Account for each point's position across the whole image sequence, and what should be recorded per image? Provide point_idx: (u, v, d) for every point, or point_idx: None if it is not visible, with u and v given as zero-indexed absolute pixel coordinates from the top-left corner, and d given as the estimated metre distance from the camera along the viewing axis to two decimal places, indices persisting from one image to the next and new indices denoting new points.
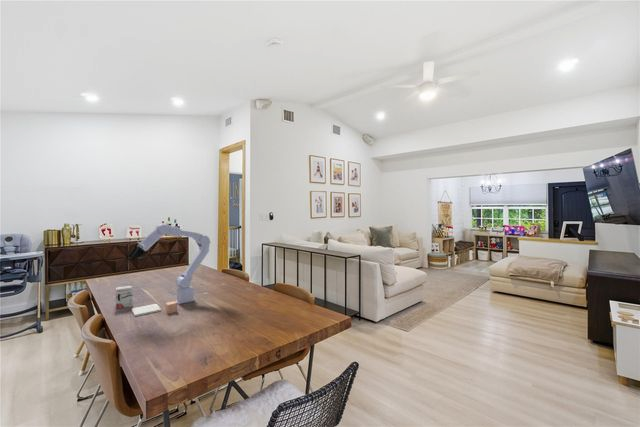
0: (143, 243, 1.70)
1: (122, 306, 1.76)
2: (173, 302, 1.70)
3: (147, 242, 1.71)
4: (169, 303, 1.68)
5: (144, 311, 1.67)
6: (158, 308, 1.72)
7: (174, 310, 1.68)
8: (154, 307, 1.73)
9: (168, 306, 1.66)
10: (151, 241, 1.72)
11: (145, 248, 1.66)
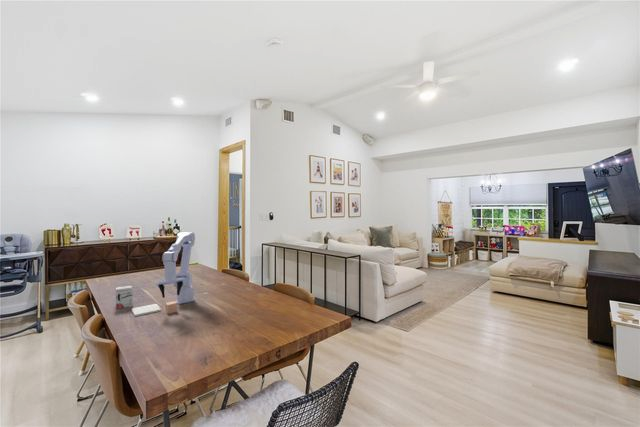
0: (175, 278, 1.69)
1: (122, 306, 1.76)
2: (173, 302, 1.70)
3: (175, 275, 1.70)
4: (169, 303, 1.68)
5: (144, 311, 1.67)
6: (158, 308, 1.72)
7: (174, 310, 1.68)
8: (154, 307, 1.73)
9: (168, 306, 1.66)
10: None
11: None
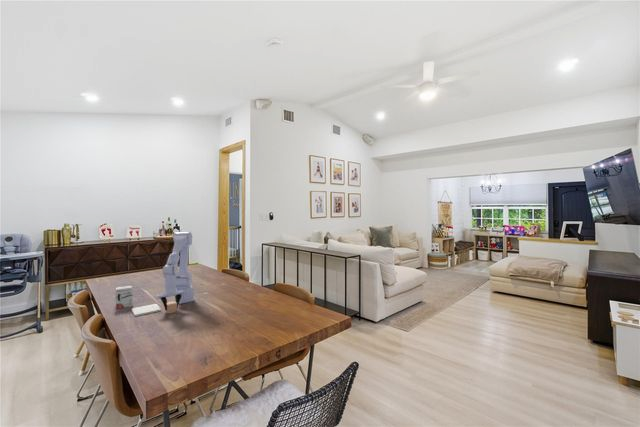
0: (175, 291, 1.69)
1: (122, 306, 1.76)
2: (173, 302, 1.70)
3: (176, 288, 1.70)
4: (169, 303, 1.68)
5: (144, 311, 1.67)
6: (158, 308, 1.72)
7: (174, 310, 1.68)
8: (154, 307, 1.73)
9: (168, 306, 1.66)
10: None
11: None
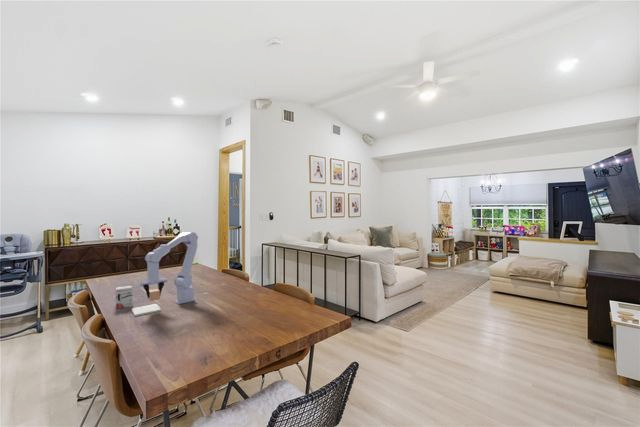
0: (158, 279, 1.70)
1: (122, 306, 1.76)
2: (156, 290, 1.71)
3: (158, 275, 1.71)
4: (152, 291, 1.69)
5: (144, 311, 1.67)
6: (158, 308, 1.72)
7: (157, 297, 1.69)
8: (154, 307, 1.73)
9: (151, 293, 1.67)
10: None
11: None
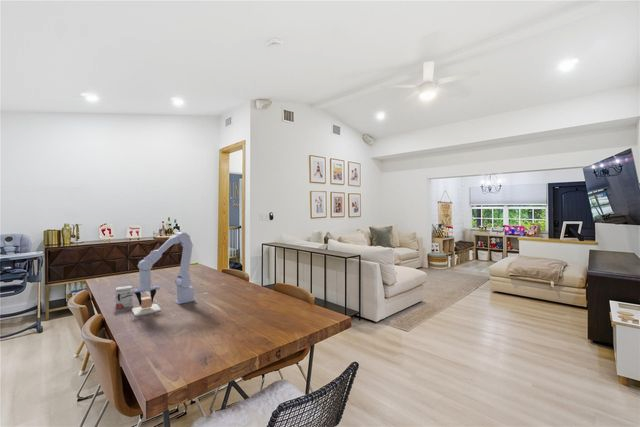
0: (150, 286, 1.71)
1: (122, 306, 1.76)
2: (148, 297, 1.72)
3: None
4: (144, 298, 1.70)
5: (144, 311, 1.67)
6: (158, 308, 1.72)
7: (149, 305, 1.70)
8: (154, 307, 1.73)
9: (142, 301, 1.68)
10: None
11: (159, 287, 1.75)
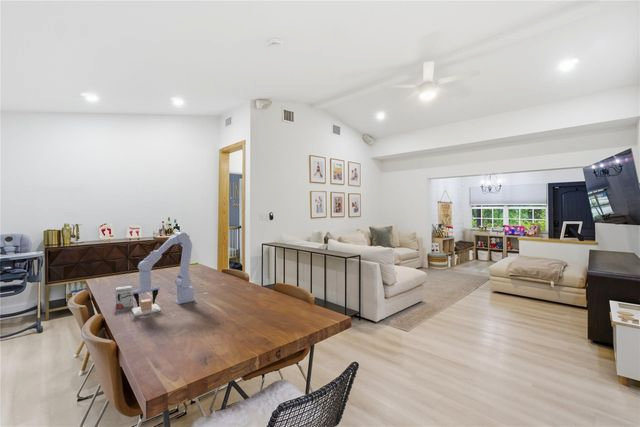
0: (150, 287, 1.71)
1: (122, 306, 1.76)
2: (148, 300, 1.72)
3: None
4: (144, 300, 1.70)
5: (144, 311, 1.67)
6: (158, 308, 1.72)
7: (148, 307, 1.70)
8: (154, 307, 1.73)
9: (142, 303, 1.68)
10: None
11: (159, 288, 1.75)
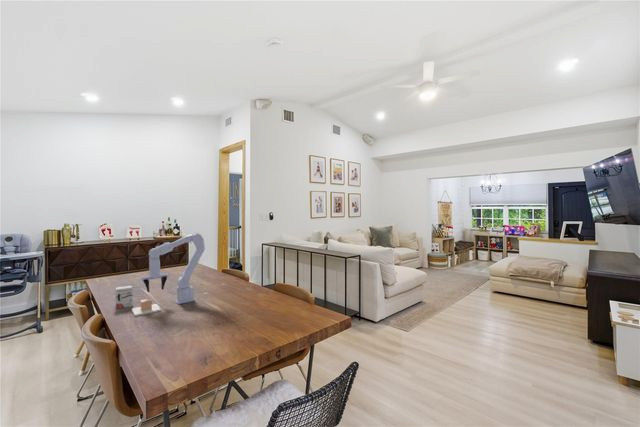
0: (159, 274, 1.79)
1: (122, 306, 1.76)
2: (148, 300, 1.72)
3: None
4: (144, 300, 1.70)
5: (144, 311, 1.67)
6: (158, 308, 1.72)
7: (148, 307, 1.70)
8: (154, 307, 1.73)
9: (142, 303, 1.68)
10: None
11: None
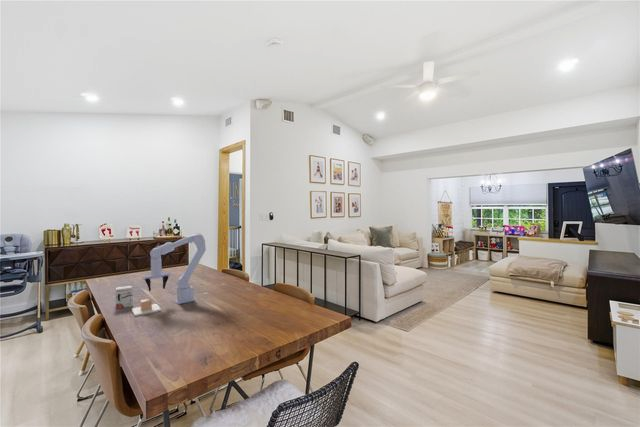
0: (161, 273, 1.80)
1: (122, 306, 1.76)
2: (148, 300, 1.72)
3: (161, 270, 1.81)
4: (144, 300, 1.70)
5: (144, 311, 1.67)
6: (158, 308, 1.72)
7: (148, 307, 1.70)
8: (154, 307, 1.73)
9: (142, 303, 1.68)
10: None
11: None
